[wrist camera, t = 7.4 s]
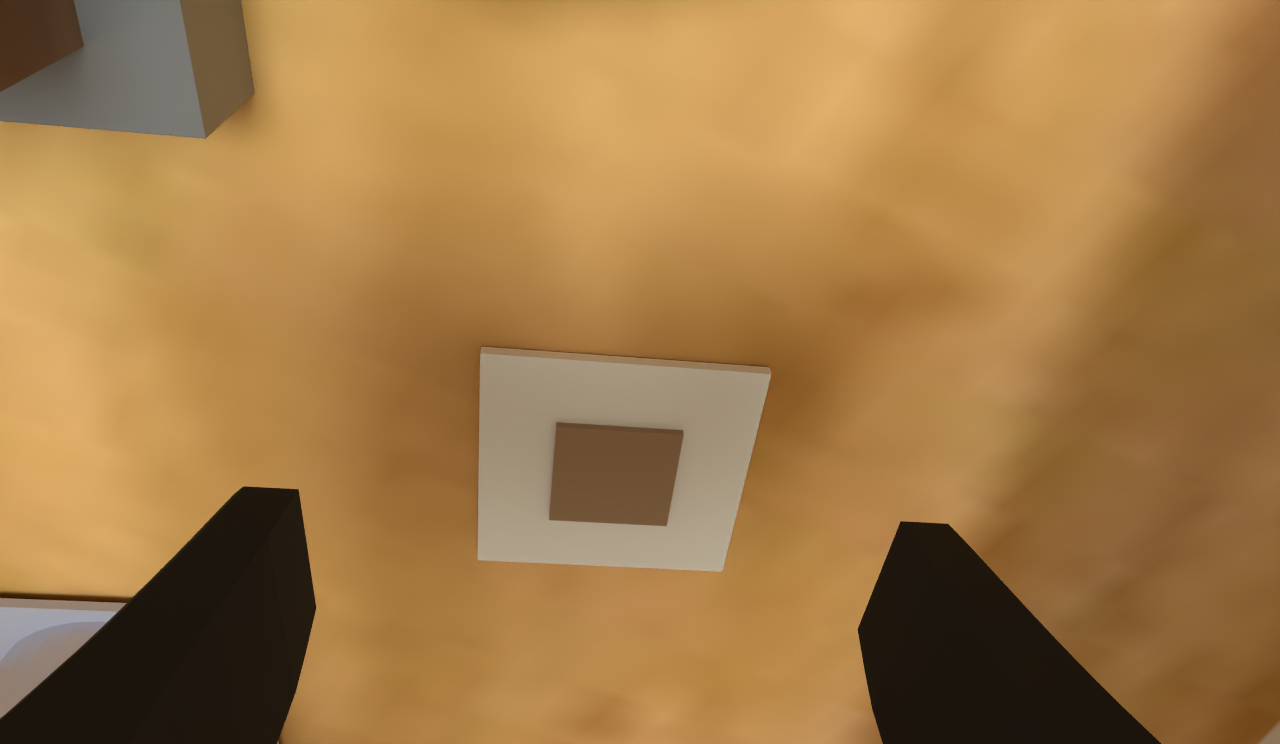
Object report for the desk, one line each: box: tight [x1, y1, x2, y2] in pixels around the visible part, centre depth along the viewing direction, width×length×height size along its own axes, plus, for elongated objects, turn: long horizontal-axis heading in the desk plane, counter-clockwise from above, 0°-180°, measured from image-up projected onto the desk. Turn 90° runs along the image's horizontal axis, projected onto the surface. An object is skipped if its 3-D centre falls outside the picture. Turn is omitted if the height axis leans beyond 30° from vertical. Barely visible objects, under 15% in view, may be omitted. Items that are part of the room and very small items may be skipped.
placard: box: [478, 346, 771, 572], centre depth 22 cm, size 7×7×1 cm
